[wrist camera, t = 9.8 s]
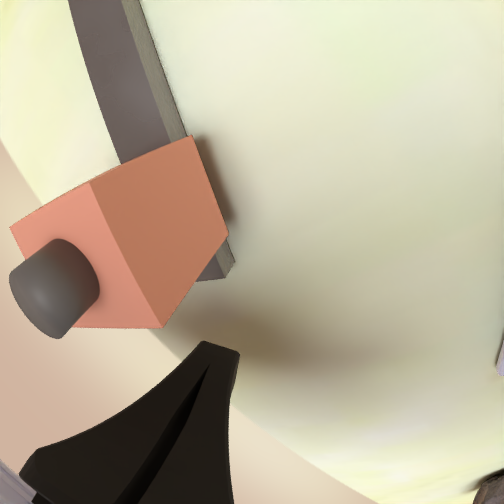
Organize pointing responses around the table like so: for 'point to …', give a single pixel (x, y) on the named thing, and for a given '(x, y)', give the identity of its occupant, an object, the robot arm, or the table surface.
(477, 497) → the perforated stone tool
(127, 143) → the rail
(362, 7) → the table surface
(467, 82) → the table surface
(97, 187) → the lever handle
